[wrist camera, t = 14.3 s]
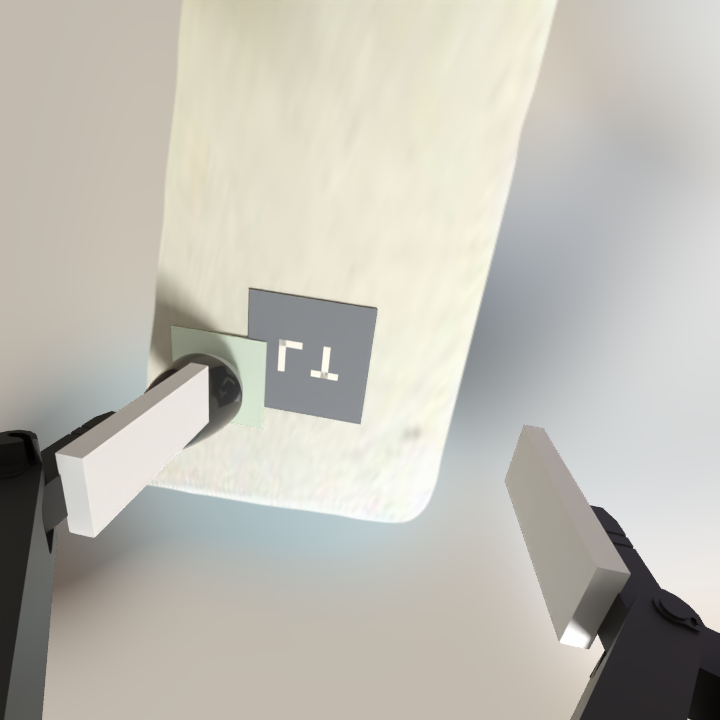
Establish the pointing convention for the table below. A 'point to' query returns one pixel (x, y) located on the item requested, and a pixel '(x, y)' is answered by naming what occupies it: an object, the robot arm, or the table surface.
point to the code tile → (313, 353)
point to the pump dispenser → (211, 390)
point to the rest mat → (241, 356)
